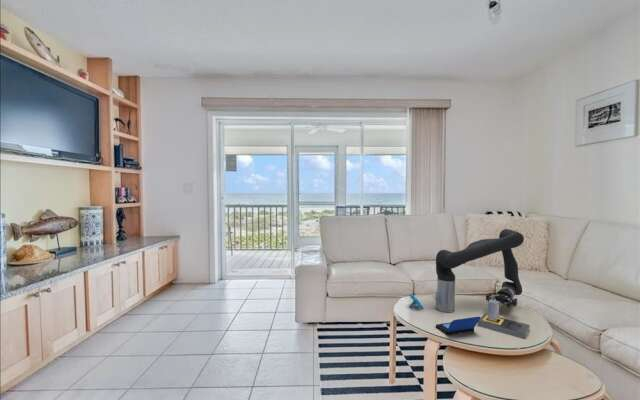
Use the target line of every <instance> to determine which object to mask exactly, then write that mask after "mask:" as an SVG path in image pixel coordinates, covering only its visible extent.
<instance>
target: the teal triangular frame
mask: <svg viewBox="0 0 640 400" xmlns="http://www.w3.org/2000/svg"><path fill="white" fill-rule="evenodd" d="M409 296H410V299H412V302H411V303H410V305H409V308H412V307H414V306H415V305H416V306H417V305H418V306H417V307H419V308H420V309H421V310H423V309H424V307H423V305H422V304H421V302H420V301H419V300H418V298H417V297H415V295H413V294H412V293H411V294H409Z"/></svg>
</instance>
